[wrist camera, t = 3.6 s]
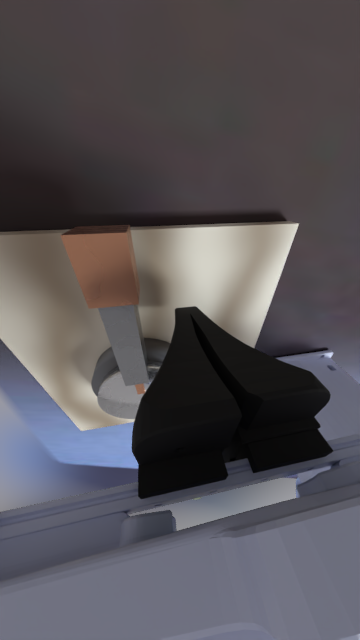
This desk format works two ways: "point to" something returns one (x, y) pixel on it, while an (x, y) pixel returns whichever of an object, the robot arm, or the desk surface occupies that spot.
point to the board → (154, 304)
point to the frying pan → (114, 310)
